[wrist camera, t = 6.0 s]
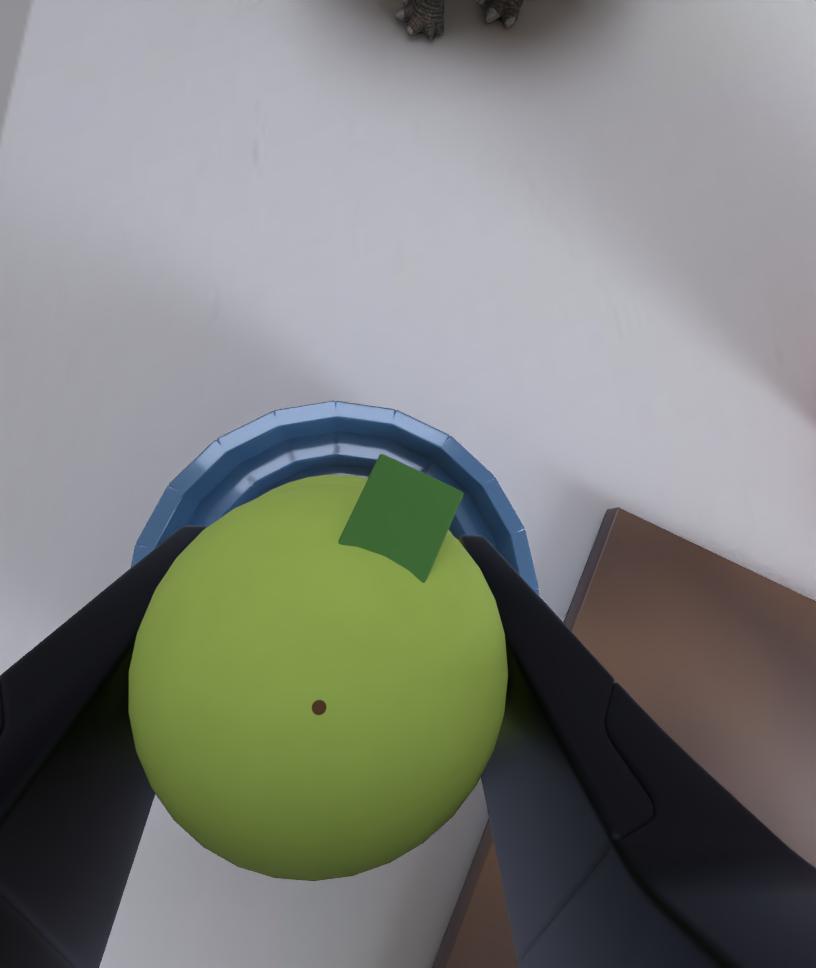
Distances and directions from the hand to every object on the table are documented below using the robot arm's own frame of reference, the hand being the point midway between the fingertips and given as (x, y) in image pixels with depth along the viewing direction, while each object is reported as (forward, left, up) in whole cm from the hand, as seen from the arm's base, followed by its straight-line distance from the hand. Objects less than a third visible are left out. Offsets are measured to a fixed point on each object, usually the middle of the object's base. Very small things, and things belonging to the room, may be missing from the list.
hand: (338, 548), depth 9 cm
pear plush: (-1, -1, -6) cm, 6 cm away
